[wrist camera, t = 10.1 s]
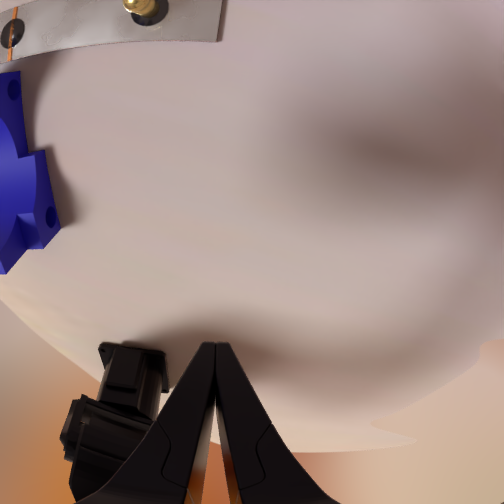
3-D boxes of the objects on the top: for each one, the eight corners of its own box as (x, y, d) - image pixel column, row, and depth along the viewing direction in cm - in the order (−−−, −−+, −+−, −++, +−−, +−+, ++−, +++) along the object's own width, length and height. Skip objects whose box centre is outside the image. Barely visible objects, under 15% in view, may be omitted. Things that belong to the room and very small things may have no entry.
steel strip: (216, 42, 15) (212, 33, 11) (-7, 65, 13) (-40, 71, 10) (225, -18, 13) (223, -39, 9) (-1, 15, 11) (-34, 13, 8)
